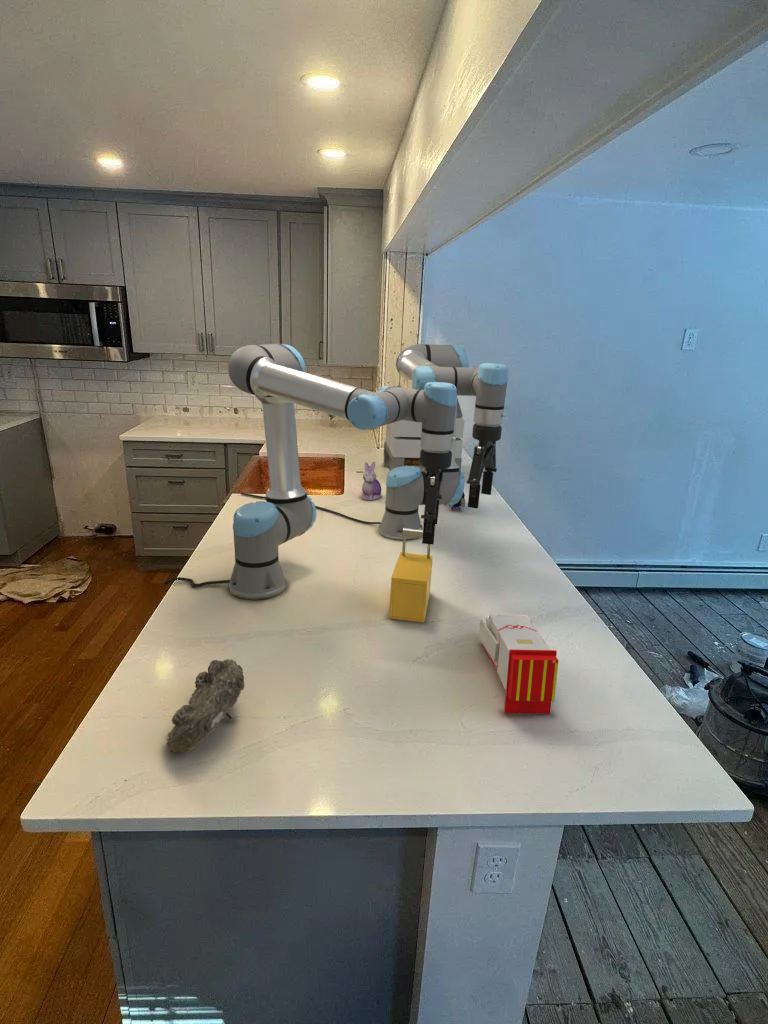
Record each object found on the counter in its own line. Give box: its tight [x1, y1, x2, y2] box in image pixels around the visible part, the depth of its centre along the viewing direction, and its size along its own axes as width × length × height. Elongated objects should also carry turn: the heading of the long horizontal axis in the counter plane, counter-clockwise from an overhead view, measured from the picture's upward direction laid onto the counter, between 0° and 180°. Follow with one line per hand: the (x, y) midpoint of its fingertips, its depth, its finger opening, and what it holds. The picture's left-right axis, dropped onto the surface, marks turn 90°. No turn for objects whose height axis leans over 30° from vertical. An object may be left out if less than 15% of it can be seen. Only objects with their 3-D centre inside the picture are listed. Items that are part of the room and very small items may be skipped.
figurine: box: [361, 461, 382, 501], centre depth 234 cm, size 9×10×15 cm
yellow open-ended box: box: [388, 564, 433, 623], centre depth 150 cm, size 16×9×10 cm, turn 170°
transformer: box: [383, 384, 465, 472], centre depth 268 cm, size 34×33×41 cm
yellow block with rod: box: [390, 528, 434, 586], centre depth 147 cm, size 16×9×9 cm, turn 170°
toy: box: [477, 613, 560, 715], centre depth 124 cm, size 12×13×30 cm
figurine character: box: [448, 490, 466, 511], centre depth 229 cm, size 7×8×15 cm
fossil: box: [166, 658, 245, 754], centre depth 106 cm, size 22×10×15 cm
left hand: (430, 533), depth 141 cm, fingers open, 13 cm apart
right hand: (479, 500), depth 156 cm, fingers open, 13 cm apart
